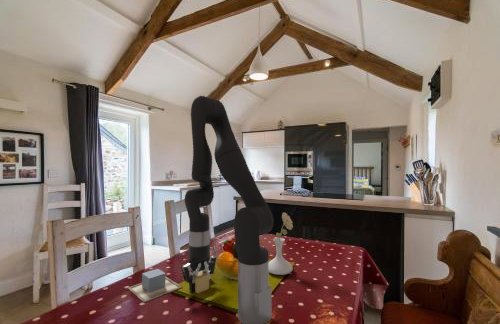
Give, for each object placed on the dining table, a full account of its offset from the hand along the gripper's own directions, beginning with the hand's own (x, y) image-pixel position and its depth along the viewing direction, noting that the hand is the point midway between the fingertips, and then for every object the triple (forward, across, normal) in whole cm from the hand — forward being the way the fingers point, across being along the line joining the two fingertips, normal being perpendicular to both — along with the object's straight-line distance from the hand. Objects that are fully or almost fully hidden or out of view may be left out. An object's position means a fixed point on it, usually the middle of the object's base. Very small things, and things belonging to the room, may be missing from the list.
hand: (199, 289), depth 91 cm
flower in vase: (+1, +34, -11) cm, 36 cm away
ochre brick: (+1, 0, 0) cm, 1 cm away
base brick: (0, -11, +13) cm, 17 cm away
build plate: (+1, -11, +12) cm, 16 cm away
